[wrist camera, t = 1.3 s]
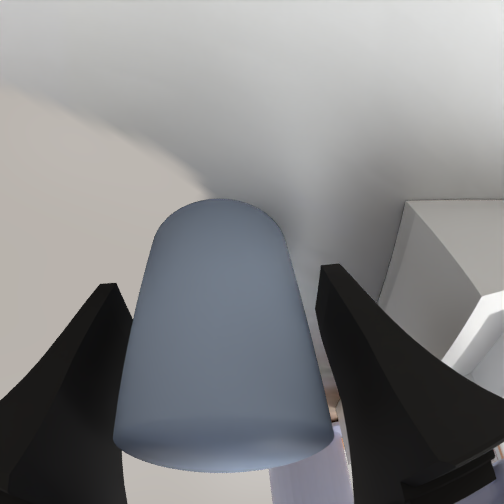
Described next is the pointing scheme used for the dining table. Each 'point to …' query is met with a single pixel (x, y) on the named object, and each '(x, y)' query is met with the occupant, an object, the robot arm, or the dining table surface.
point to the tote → (450, 287)
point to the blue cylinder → (220, 349)
